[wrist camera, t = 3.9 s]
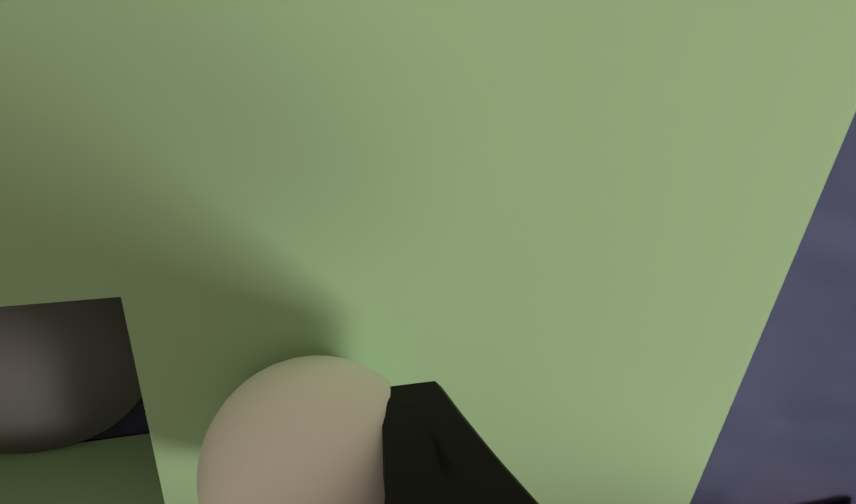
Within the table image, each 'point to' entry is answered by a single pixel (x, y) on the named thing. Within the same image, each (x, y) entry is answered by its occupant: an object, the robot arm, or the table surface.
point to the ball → (298, 437)
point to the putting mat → (403, 221)
